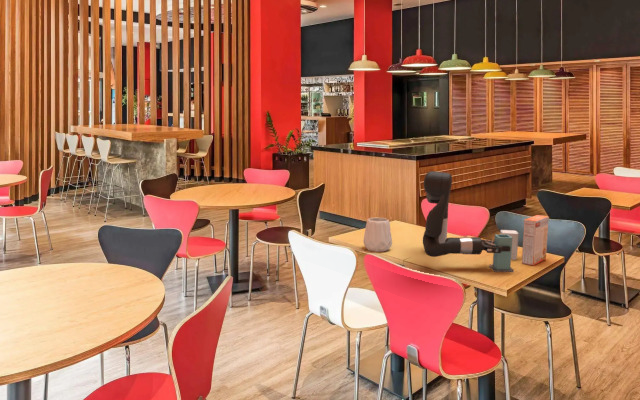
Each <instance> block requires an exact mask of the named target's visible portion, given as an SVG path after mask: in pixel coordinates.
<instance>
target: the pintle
mask: <svg viewBox="0 0 640 400" xmlns="http://www.w3.org/2000/svg"><path fill="white" fill-rule="evenodd" d="M489 268H490V269H491V270H492V271H493V272H494V273H514V271H515V270H514V269H513V268H512V267H511V266H510V269H496V268H495V267H494V266H493V263H492V264H489Z"/></svg>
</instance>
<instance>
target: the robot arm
mask: <svg viewBox="0 0 640 400" xmlns="http://www.w3.org/2000/svg"><path fill="white" fill-rule="evenodd" d="M452 185H453V176H452V174H451V173H448V172H444V171H436V170H435V171H433V170H430V171H428V172H426V173H425V176H424V179H423V190H424V191H425V193H426V194H425V195H426V201H427V202H428V203H430V204H435V206H433V207H432V209H431V210H429V211H428V213H427V216H426V220H425V227H424V229H425V230H424V232H423V237H422V244H423V250H424V253H425V254H426V255H427V256H429V257H432V258H433V257H434V258H437V257H442V256H446V255H450V254H456V255H457V254H459V255H481V254H482V252H483V251H485V252H486V253H487V254H494V253H501V251H508V252H509V251H510V246H498V245H497V244H494V239H492V238H490V239H487V238H486V239H482V238H481V237H476V236H471V237H470V236H463V237H461V236H460V237H448V225H449V224H448V223H449V219H448V218H449V203H450V195H451V191H452ZM497 249H498V250H497Z"/></svg>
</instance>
